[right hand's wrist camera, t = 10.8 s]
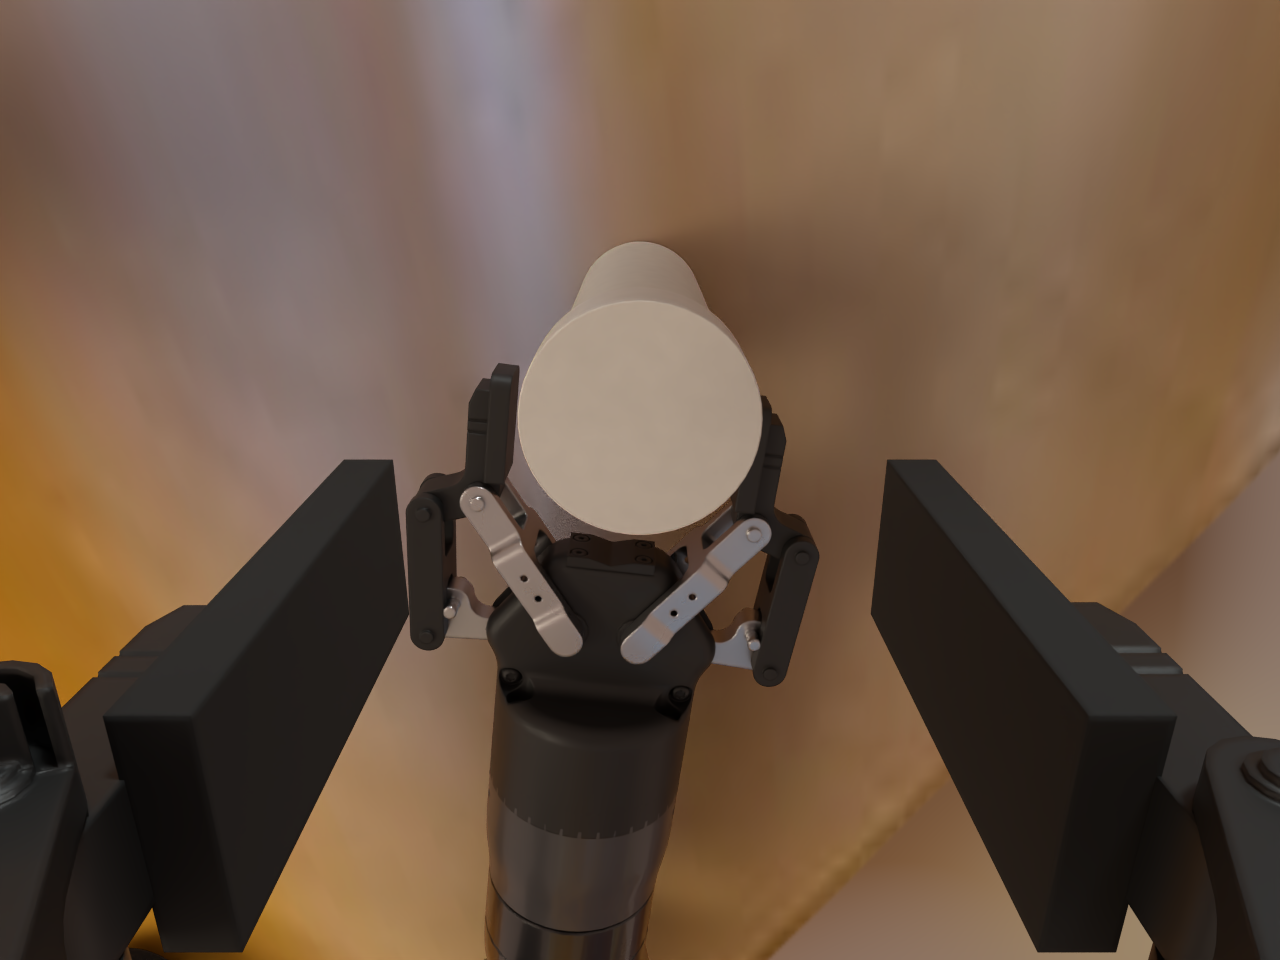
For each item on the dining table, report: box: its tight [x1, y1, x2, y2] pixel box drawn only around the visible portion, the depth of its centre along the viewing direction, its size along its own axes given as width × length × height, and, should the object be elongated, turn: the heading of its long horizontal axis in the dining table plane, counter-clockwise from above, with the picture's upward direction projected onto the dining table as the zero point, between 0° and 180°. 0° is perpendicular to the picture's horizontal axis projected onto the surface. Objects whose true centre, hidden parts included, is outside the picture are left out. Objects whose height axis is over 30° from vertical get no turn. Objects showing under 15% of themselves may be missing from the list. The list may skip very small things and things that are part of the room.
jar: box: [571, 241, 709, 310], centre depth 28 cm, size 5×5×16 cm
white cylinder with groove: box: [518, 287, 763, 535], centre depth 21 cm, size 6×6×2 cm
